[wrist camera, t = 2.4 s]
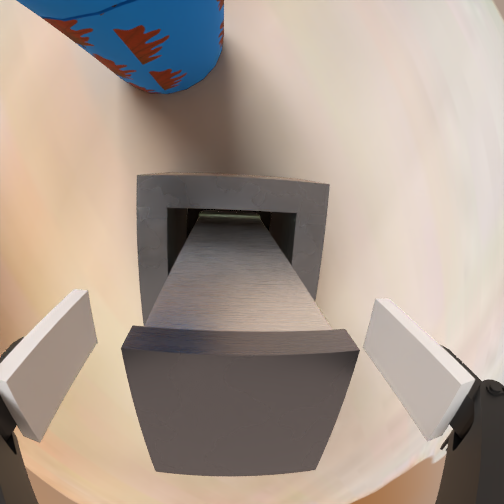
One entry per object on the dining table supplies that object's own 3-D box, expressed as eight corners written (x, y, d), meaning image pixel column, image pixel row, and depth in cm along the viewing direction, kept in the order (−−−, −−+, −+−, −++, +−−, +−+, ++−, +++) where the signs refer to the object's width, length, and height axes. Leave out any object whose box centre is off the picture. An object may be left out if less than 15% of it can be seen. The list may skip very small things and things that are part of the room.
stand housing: (168, 290, 29) (143, 352, 19) (167, 172, 26) (132, 175, 16) (283, 294, 31) (310, 355, 20) (294, 178, 27) (335, 185, 17)
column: (199, 268, 29) (158, 478, 7) (200, 208, 27) (120, 347, 6) (253, 270, 29) (311, 477, 8) (257, 210, 28) (359, 350, 6)
